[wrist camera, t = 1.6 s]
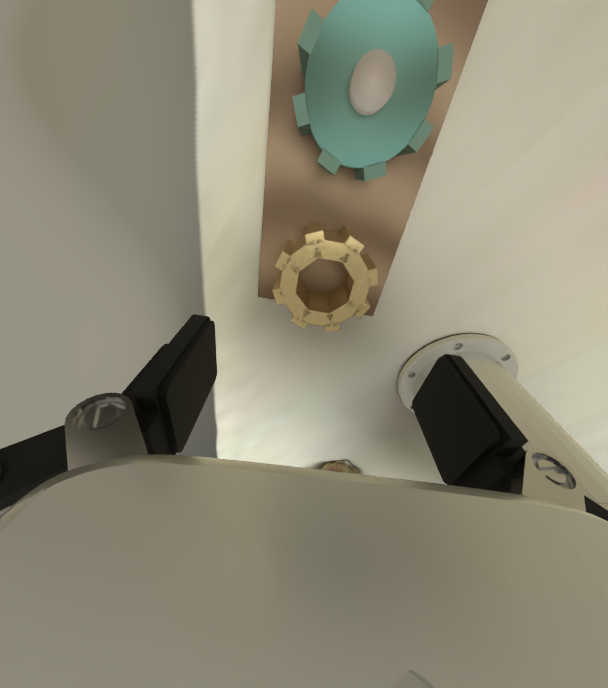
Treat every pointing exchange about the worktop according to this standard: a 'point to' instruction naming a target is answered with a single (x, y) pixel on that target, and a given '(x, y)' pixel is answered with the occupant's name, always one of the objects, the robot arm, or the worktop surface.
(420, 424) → the robot arm
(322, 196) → the gear board
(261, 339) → the worktop surface
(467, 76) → the worktop surface
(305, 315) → the brass gear
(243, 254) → the worktop surface
